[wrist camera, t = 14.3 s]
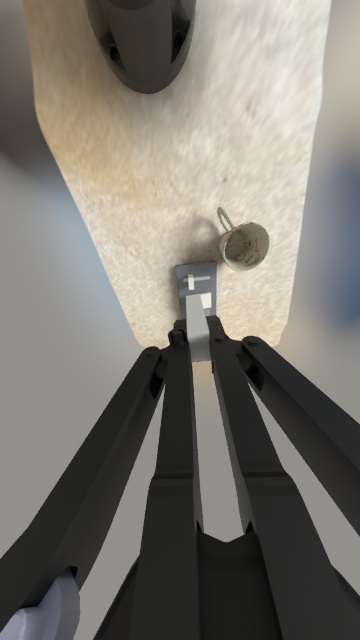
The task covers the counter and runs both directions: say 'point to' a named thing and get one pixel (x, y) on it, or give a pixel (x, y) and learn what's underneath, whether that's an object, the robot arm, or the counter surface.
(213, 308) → the panel
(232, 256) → the mug
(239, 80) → the counter surface
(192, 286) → the slider
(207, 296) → the plate
